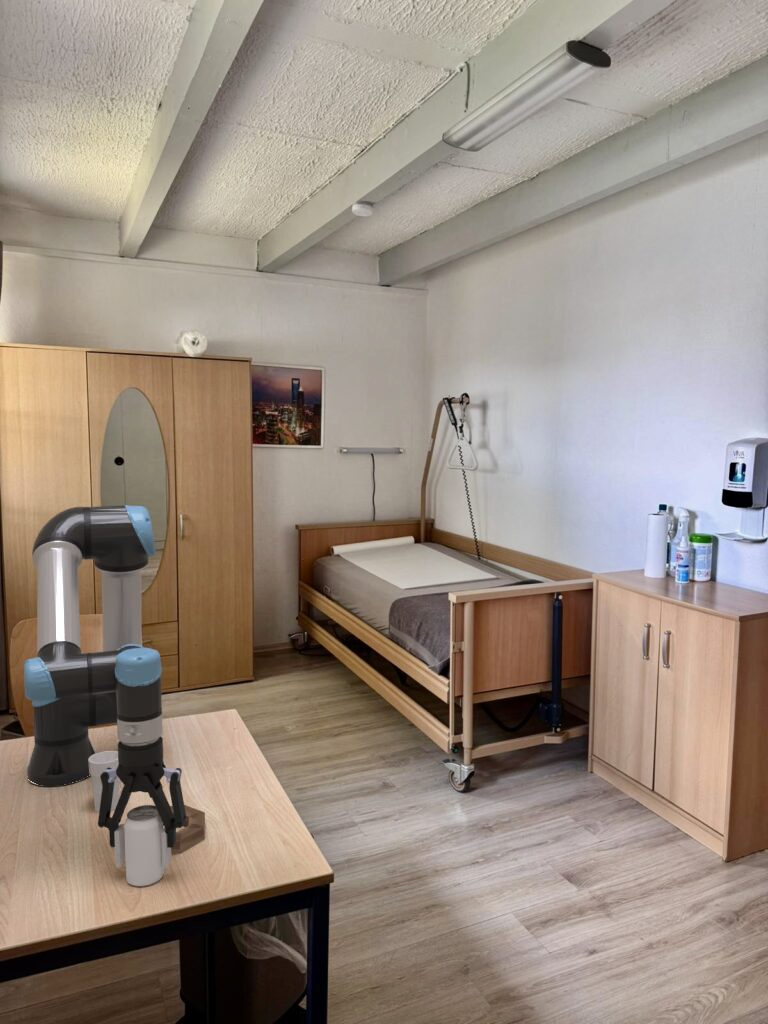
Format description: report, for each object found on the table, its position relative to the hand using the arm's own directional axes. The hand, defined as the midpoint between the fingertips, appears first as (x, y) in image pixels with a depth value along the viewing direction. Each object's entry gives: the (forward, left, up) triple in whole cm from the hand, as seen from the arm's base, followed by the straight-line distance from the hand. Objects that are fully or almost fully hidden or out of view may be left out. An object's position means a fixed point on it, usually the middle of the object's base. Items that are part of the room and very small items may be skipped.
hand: (143, 863), depth 130 cm
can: (0, 0, -3) cm, 3 cm away
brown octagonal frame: (-8, +12, -3) cm, 15 cm away
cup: (-28, +13, -3) cm, 31 cm away
